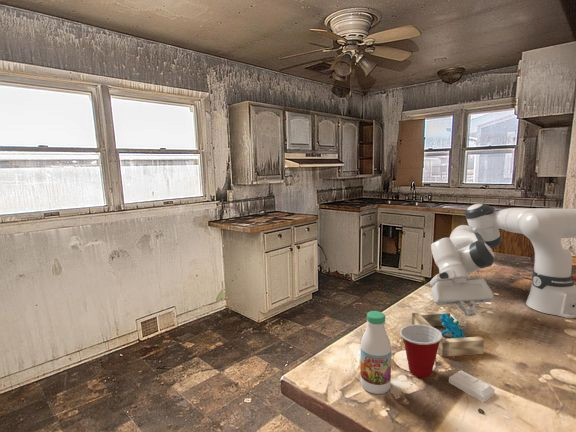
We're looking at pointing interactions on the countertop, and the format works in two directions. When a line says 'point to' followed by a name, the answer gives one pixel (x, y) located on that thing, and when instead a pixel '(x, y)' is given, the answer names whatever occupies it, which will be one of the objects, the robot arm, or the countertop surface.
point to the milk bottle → (375, 355)
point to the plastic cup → (421, 348)
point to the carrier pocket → (454, 344)
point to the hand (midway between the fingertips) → (471, 315)
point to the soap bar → (472, 385)
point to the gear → (451, 326)
